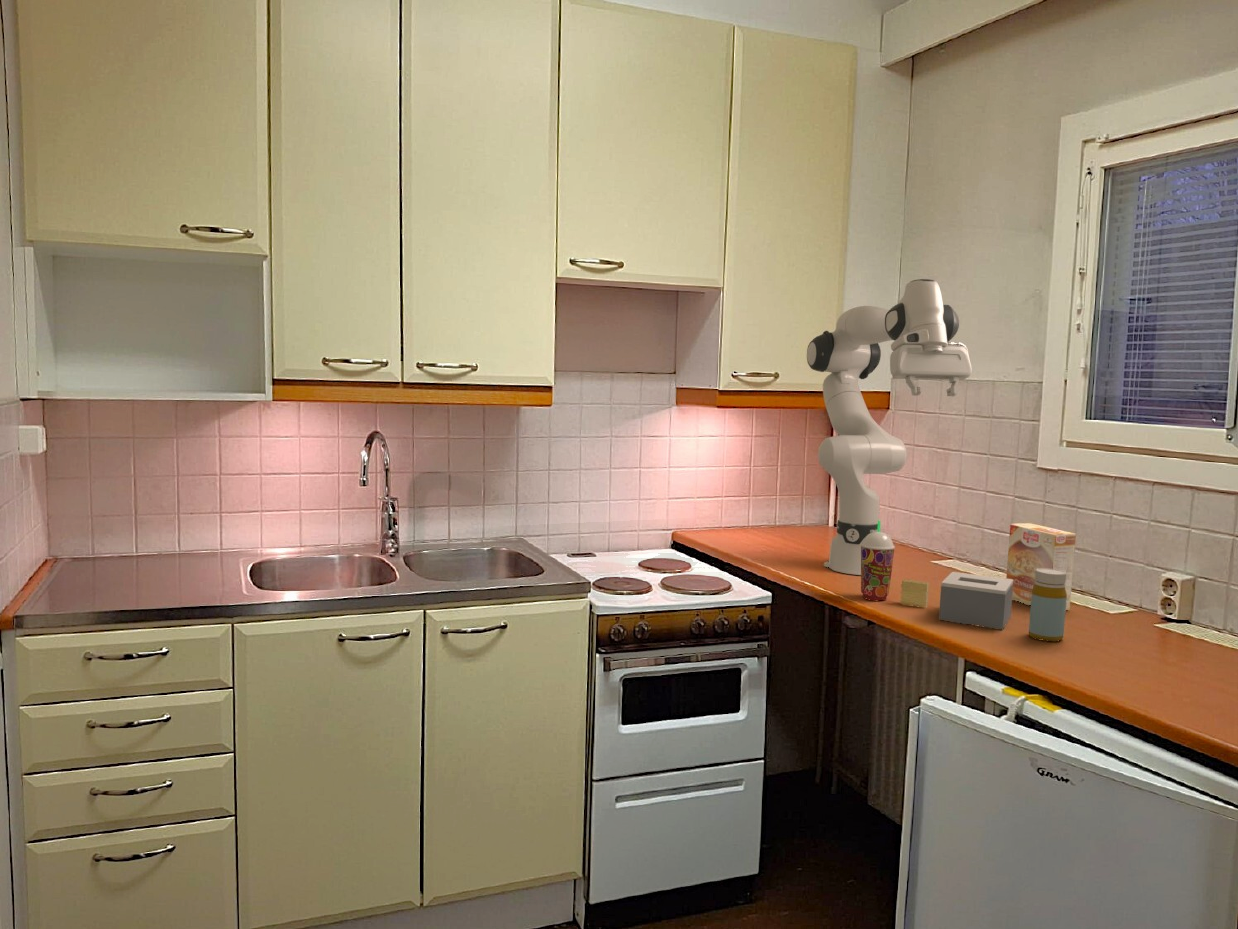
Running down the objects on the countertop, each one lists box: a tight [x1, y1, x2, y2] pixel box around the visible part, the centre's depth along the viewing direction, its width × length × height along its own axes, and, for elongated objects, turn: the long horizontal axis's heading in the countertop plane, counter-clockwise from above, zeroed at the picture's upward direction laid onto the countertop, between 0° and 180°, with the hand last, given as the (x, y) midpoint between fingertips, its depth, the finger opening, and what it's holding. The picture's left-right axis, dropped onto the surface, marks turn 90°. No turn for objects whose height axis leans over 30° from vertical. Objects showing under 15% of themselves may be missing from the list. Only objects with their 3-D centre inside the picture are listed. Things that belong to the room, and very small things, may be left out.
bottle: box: [1028, 568, 1067, 642], centre depth 209 cm, size 7×7×15 cm
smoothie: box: [860, 520, 896, 601], centre depth 240 cm, size 8×8×20 cm
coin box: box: [938, 571, 1013, 630], centre depth 224 cm, size 14×14×9 cm
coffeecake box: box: [1005, 522, 1077, 611], centre depth 239 cm, size 15×7×20 cm, turn 21°
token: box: [900, 578, 930, 609], centre depth 235 cm, size 2×6×6 cm, turn 61°
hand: (934, 395), depth 231 cm, fingers open, 8 cm apart
